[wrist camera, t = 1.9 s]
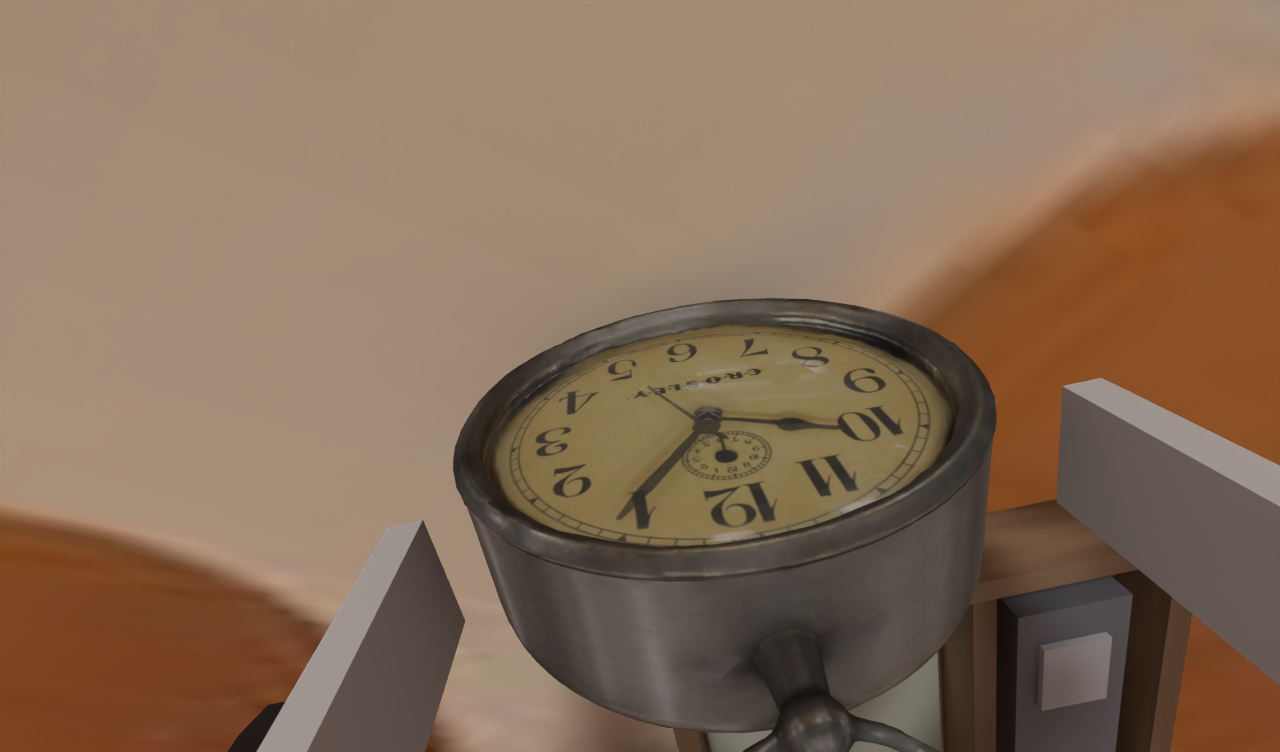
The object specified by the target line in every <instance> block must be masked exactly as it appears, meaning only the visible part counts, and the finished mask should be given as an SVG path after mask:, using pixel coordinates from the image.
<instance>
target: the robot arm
mask: <svg viewBox="0 0 1280 752" xmlns="http://www.w3.org/2000/svg"><path fill="white" fill-rule="evenodd" d="M1057 503H1058V504H1060V505H1061V506H1062V507H1063V508H1064V509H1066V510H1067V511H1068V512H1069V513H1071V514H1072V515H1073V516H1074V517H1075V518H1077V519H1078V520H1079V521H1080V522H1081V523H1083V524H1084V525H1085V526H1086V527H1088V528H1089V529H1090V530H1091V531H1092V532H1094V533H1095V534H1096V535H1097V536H1098V537H1100V538H1101V539H1102V540H1103V541H1105V542H1106V543H1107V544H1108V545H1109V546H1111V547H1112V548H1113V549H1114V550H1115V551H1117V552H1118V553H1119V554H1120V555H1122V556H1123V557H1124V558H1125V559H1126V560H1128V561H1129V562H1130V563H1131V564H1132V565H1134V566H1135V567H1136V568H1137V569H1139V570H1140V571H1141V572H1142V573H1143V574H1145V575H1146V576H1147V577H1148V578H1150V579H1151V580H1152V581H1153V582H1154V583H1156V584H1157V585H1158V586H1159V587H1160V588H1162V589H1163V590H1164V591H1165V592H1167V593H1168V594H1169V595H1170V596H1171V597H1173V598H1174V599H1175V600H1176V601H1177V602H1179V603H1180V604H1181V605H1182V606H1184V607H1185V608H1186V609H1187V610H1188V611H1190V612H1191V613H1192V614H1193V615H1194V616H1196V617H1197V618H1198V619H1199V620H1201V621H1202V622H1203V623H1204V624H1205V625H1207V626H1208V627H1209V628H1210V629H1211V630H1213V631H1214V632H1215V633H1216V634H1218V635H1219V636H1220V637H1221V638H1222V639H1224V640H1225V641H1226V642H1227V643H1229V644H1230V645H1231V646H1232V647H1233V648H1235V649H1236V650H1237V651H1238V652H1239V653H1241V654H1242V655H1243V656H1244V657H1246V658H1247V659H1248V660H1249V661H1250V662H1252V663H1253V664H1254V665H1255V666H1256V667H1258V668H1259V669H1260V670H1261V671H1263V672H1264V673H1265V674H1266V675H1267V676H1269V677H1270V678H1271V679H1272V680H1273V681H1275V682H1276V683H1277V684H1278V685H1280V466H1279V465H1277V464H1275V463H1273V462H1271V461H1269V460H1267V459H1265V458H1263V457H1261V456H1259V455H1257V454H1255V453H1253V452H1251V451H1249V450H1247V449H1245V448H1243V447H1241V446H1239V445H1237V444H1235V443H1233V442H1230V441H1228V440H1226V439H1224V438H1222V437H1220V436H1218V435H1216V434H1214V433H1212V432H1210V431H1208V430H1206V429H1204V428H1202V427H1200V426H1198V425H1196V424H1194V423H1192V422H1190V421H1188V420H1186V419H1184V418H1182V417H1180V416H1178V415H1176V414H1174V413H1172V412H1170V411H1168V410H1166V409H1164V408H1161V407H1159V406H1157V405H1155V404H1153V403H1151V402H1149V401H1147V400H1145V399H1143V398H1141V397H1139V396H1137V395H1135V394H1133V393H1131V392H1129V391H1127V390H1125V389H1123V388H1121V387H1119V386H1117V385H1115V384H1113V383H1111V382H1109V381H1107V380H1105V379H1103V378H1100V379H1095V380H1090V381H1085V382H1080V383H1076V384H1071V385H1066V386H1063V388H1062V408H1061V427H1060V446H1059V465H1058V485H1057ZM464 623H465V619H464V617H463V614H462V612H461V610H460V607H459V605H458V602H457V600H456V598H455V595H454V593H453V591H452V588H451V586H450V583H449V581H448V579H447V576H446V574H445V571H444V569H443V567H442V564H441V562H440V559H439V557H438V555H437V552H436V550H435V548H434V545H433V543H432V540H431V538H430V536H429V533H428V531H427V528H426V526H425V524H424V521H423V520H419V521H414V522H409V523H405V524H400V525H395V526H390V527H387V528H386V530H385V532H384V533H383V535H382V537H381V539H380V540H379V542H378V544H377V546H376V547H375V549H374V551H373V552H372V554H371V556H370V558H369V559H368V561H367V563H366V564H365V566H364V568H363V570H362V571H361V573H360V575H359V576H358V578H357V580H356V582H355V583H354V585H353V587H352V589H351V590H350V592H349V594H348V595H347V597H346V599H345V601H344V602H343V604H342V606H341V607H340V609H339V611H338V613H337V614H336V616H335V618H334V619H333V621H332V623H331V625H330V626H329V628H328V630H327V632H326V633H325V635H324V637H323V638H322V640H321V642H320V644H319V645H318V647H317V649H316V650H315V652H314V654H313V656H312V657H311V659H310V661H309V662H308V664H307V666H306V668H305V669H304V671H303V673H302V675H301V676H300V678H299V680H298V681H297V683H296V685H295V687H294V688H293V690H292V692H291V693H290V695H289V697H288V699H287V700H286V702H281V703H276V704H270V705H267V706H266V708H265V709H264V710H263V711H262V712H261V713H260V714H259V715H258V716H257V717H256V718H255V719H254V720H253V721H252V722H251V723H250V724H249V725H248V726H247V727H246V728H245V729H244V730H243V731H242V732H241V734H240V735H239V736H238V737H237V738H236V740H235V741H234V743H233V744H232V746H231V748H230V749H229V751H228V752H425V750H426V747H427V744H428V740H429V737H430V734H431V731H432V727H433V724H434V721H435V718H436V714H437V711H438V708H439V705H440V701H441V698H442V695H443V692H444V688H445V685H446V682H447V679H448V675H449V672H450V669H451V665H452V662H453V659H454V656H455V652H456V649H457V646H458V643H459V639H460V636H461V633H462V630H463V626H464Z"/></svg>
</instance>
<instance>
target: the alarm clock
mask: <svg viewBox="0 0 1280 752" xmlns="http://www.w3.org/2000/svg"><path fill="white" fill-rule="evenodd" d="M995 428H996V407H995V397H994V395H993V392H992V390H991V388H990V385H989V382H988V380H987V379H986V377H985V375H984V374H983V373H982V371H981V370H980V369H979V367H978V366H977V365H976V364H975V363H974V361H973V360H972V359H971V358H970V357H969V356H967V355H966V354H965V353H964V352H963V351H962V350H961V349H960V348H959V347H958V346H956V345H955V344H954V343H952V342H950V341H948V340H947V339H945V338H944V337H942V336H941V335H939V334H938V333H936V332H934V331H932V330H930V329H928V328H926V327H923V326H921V325H919V324H916V323H914V322H911V321H909V320H906V319H903V318H901V317H898V316H895V315H891V314H889V313H885V312H881V311H876V310H872V309H868V308H864V307H860V306H855V305H848V304H842V303H835V302H827V301H819V300H810V299H774V298H766V299H737V300H723V301H713V302H705V303H698V304H692V305H686V306H679V307H675V308H670V309H665V310H660V311H655V312H651V313H647V314H642V315H637V316H634V317H630V318H627V319H623V320H620V321H617V322H614V323H611V324H608V325H605V326H602V327H599V328H596V329H594V330H591V331H588V332H585V333H582V334H580V335H578V336H576V337H574V338H572V339H569V340H567V341H565V342H563V343H561V344H559V345H557V346H555V347H552V348H550V349H548V350H546V351H544V352H542V353H540V354H538V355H536V356H535V357H533V358H531V359H530V360H528V361H527V362H525V363H523V364H522V365H520V366H518V367H517V368H515V369H514V370H512V371H511V372H510V373H508V374H507V375H506V376H505V377H503V378H502V379H501V380H500V381H499V382H498V383H497V384H496V385H495V386H494V387H492V388H491V389H490V390H489V391H488V392H487V393H486V394H485V396H484V397H483V398H482V399H481V400H480V401H479V402H478V404H477V405H476V407H475V408H474V410H473V411H472V413H471V414H470V416H469V417H468V419H467V421H466V423H465V424H464V426H463V428H462V430H461V432H460V435H459V438H458V441H457V443H456V446H455V452H454V460H453V471H454V477H455V482H456V487H457V489H458V491H459V493H460V495H461V497H462V499H463V501H464V504H465V505H466V506H467V508H468V511H469V513H470V516H471V519H472V522H473V524H474V527H475V530H476V533H477V536H478V538H479V541H480V544H481V547H482V550H483V553H484V556H485V559H486V562H487V564H488V567H489V570H490V573H491V576H492V579H493V581H494V584H495V587H496V590H497V593H498V596H499V599H500V601H501V604H502V606H503V609H504V611H505V614H506V616H507V618H508V621H509V623H510V624H511V626H512V628H513V630H514V631H515V633H516V635H517V636H518V638H519V640H520V641H521V643H522V644H523V646H524V647H525V649H526V650H527V651H528V652H529V653H530V654H531V656H532V657H533V658H534V659H535V660H536V662H537V663H539V664H540V665H541V666H542V667H543V668H544V669H545V670H546V671H547V672H548V673H549V674H550V675H552V676H553V677H554V678H555V679H556V680H558V681H559V682H560V683H562V684H563V685H565V686H566V687H568V688H569V689H571V690H572V691H574V692H575V693H577V694H579V695H581V696H582V697H584V698H586V699H588V700H590V701H591V702H593V703H595V704H597V705H599V706H601V707H604V708H606V709H609V710H611V711H614V712H616V713H619V714H621V715H624V716H627V717H630V718H632V719H635V720H638V721H642V722H646V723H650V724H654V725H658V726H662V727H667V728H674V729H680V730H687V731H696V732H704V733H750V732H759V731H768V730H773V731H772V732H771V733H770V734H769V735H768V736H767V737H766V738H764V739H762V740H760V741H758V742H757V743H755V744H753V745H752V746H750V747H748V748H747V749H745V750H744V751H743V752H849V751H850V750H851V748H852V746H853V744H854V743H855V742H858V741H863V742H869V743H875V744H879V745H882V746H886V747H890V748H892V749H894V750H897V751H899V752H941V751H939V750H937V749H935V748H933V747H931V746H929V745H927V744H925V743H923V742H921V741H919V740H917V739H916V738H914V737H912V736H909V735H907V734H906V733H904V732H903V731H902V730H899V729H897V728H895V727H892V726H888V725H886V724H884V723H880V722H875V721H871V720H867V719H864V718H860V717H857V716H854V715H852V714H851V713H849V712H848V711H849V710H851V709H854V708H856V707H858V706H860V705H862V704H864V703H866V702H868V701H870V700H872V699H874V698H876V697H878V696H880V695H882V694H883V693H885V692H887V691H889V690H890V689H892V688H894V687H895V686H897V685H898V684H900V683H901V682H903V681H904V680H906V679H907V678H909V677H910V676H911V675H912V674H914V673H915V672H916V671H918V670H919V669H920V668H921V667H922V666H923V665H925V664H926V663H927V662H928V661H929V660H930V659H931V658H932V657H933V656H934V655H935V654H936V653H937V652H938V651H939V650H940V648H941V647H942V646H943V645H944V644H945V643H946V641H947V640H948V639H949V638H950V637H951V635H952V634H953V632H954V631H955V629H956V628H957V627H958V625H959V624H960V622H961V620H962V619H963V617H964V615H965V613H966V611H967V609H968V607H969V605H970V603H971V600H972V598H973V595H974V593H975V590H976V587H977V584H978V580H979V577H980V570H981V564H982V556H983V547H984V537H985V524H986V511H987V498H988V486H989V473H990V462H991V452H992V443H993V435H994V432H995Z"/></svg>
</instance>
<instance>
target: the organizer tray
mask: <svg viewBox="0 0 1280 752" xmlns="http://www.w3.org/2000/svg"><path fill="white" fill-rule="evenodd" d="M1110 575H1111V576H1112V577H1113V578H1114V579H1115V580H1117V581H1118V582H1119V583H1120V584H1121V585H1122V586H1124V587H1125V588H1126V589H1127V590H1128V591H1129V592H1131V593H1132V594H1133V598H1132V607H1131V616H1130V625H1129V634H1128V643H1127V652H1126V661H1125V669H1124V678H1123V687H1122V696H1121V705H1120V714H1119V723H1118V732H1117V741H1116V750H1115V752H1170V747H1171V741H1172V735H1173V729H1174V722H1175V716H1176V710H1177V704H1178V697H1179V691H1180V685H1181V679H1182V673H1183V666H1184V660H1185V654H1186V648H1187V641H1188V635H1189V629H1190V623H1191V616H1192V613H1191V612H1190V611H1188V610H1187V609H1186V608H1185V607H1184V606H1182V605H1181V604H1180V603H1179V602H1177V601H1176V600H1175V599H1174V598H1173V597H1171V596H1170V595H1169V594H1168V593H1167V592H1165V591H1164V590H1163V589H1162V588H1160V587H1159V586H1158V585H1157V584H1156V583H1154V582H1153V581H1152V580H1151V579H1150V578H1148V577H1147V576H1146V575H1145V574H1143V573H1142V572H1141V571H1140V570H1139V569H1137V568H1136V567H1135V566H1134V565H1132V564H1131V563H1130V562H1129V561H1128V560H1126V559H1125V558H1124V557H1123V556H1122V555H1120V554H1119V553H1118V552H1117V551H1115V550H1114V549H1113V548H1112V547H1111V546H1109V545H1108V544H1107V543H1106V542H1105V541H1103V540H1102V539H1101V538H1100V537H1098V536H1097V535H1096V534H1095V533H1094V532H1092V531H1091V530H1090V529H1089V528H1088V527H1086V526H1085V525H1084V524H1083V523H1081V522H1080V521H1079V520H1078V519H1077V518H1075V517H1074V516H1073V515H1072V514H1071V513H1069V512H1068V511H1067V510H1066V509H1064V508H1063V507H1062V506H1061V505H1060V504H1058V503H1057V499H1056V500H1052V501H1047V502H1042V503H1037V504H1033V505H1028V506H1023V507H1018V508H1014V509H1009V510H1004V511H1000V512H995V513H990V514H986V524H985V537H984V547H983V556H982V564H981V570H980V577H979V580H978V584H977V587H976V590H975V593H974V595H973V598H972V600H971V603H970V605H969V607H968V609H967V611H966V613H965V615H964V617H963V619H962V620H961V622H960V624H959V625H958V627H957V628H956V629H955V631H954V632H953V634H952V635H951V637H950V638H949V639H948V640H947V641H946V643H945V644H944V645H943V646H942V647H941V648H940V650H939V651H938V652H937V653H936V654H935V655H934V656H933V657H932V658H931V659H930V660H929V661H928V662H927V663H926V664H925V665H923V666H922V667H921V668H920V669H919V670H918V671H916V672H915V673H914V674H912V675H911V676H910V677H909V678H907V679H906V680H904V681H903V682H901V683H900V684H898V685H897V686H895V687H894V688H892V689H890V690H889V691H887V692H885V693H883V694H882V695H880V696H878V697H876V698H874V699H872V700H870V701H868V702H866V703H864V704H862V705H860V706H858V707H856V708H854V709H851V710H849V711H848V712H849V713H851V714H852V715H854V716H857V717H860V718H864V719H867V720H871V721H875V722H880V723H884V724H886V725H888V726H892V727H895V728H897V729H899V730H902V731H903V732H904V733H906V734H907V735H909V736H912V737H914V738H916V739H917V740H919V741H921V742H923V743H925V744H927V745H929V746H931V747H933V748H935V749H937V750H939V751H941V752H996V660H997V599H999V598H1004V597H1009V596H1013V595H1018V594H1023V593H1028V592H1033V591H1038V590H1042V589H1047V588H1052V587H1057V586H1062V585H1066V584H1071V583H1076V582H1081V581H1086V580H1091V579H1095V578H1100V577H1105V576H1110ZM673 730H674V734H675V737H676V741H677V745H678V748H679V752H743V751H744V750H745V749H747V748H748V747H750V746H752V745H753V744H755V743H757V742H758V741H760V740H762V739H764V738H766V737H767V736H768V735H769V734H770V733H771V732H772V731H773V730H768V731H759V732H750V733H704V732H696V731H687V730H680V729H674V728H673ZM849 752H899V751H897V750H894V749H892V748H890V747H886V746H882V745H879V744H875V743H869V742H863V741H858V742H855V743H854V744H853V746H852V748H851V750H850V751H849Z"/></svg>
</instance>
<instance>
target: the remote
mask: <svg viewBox="0 0 1280 752" xmlns="http://www.w3.org/2000/svg"><path fill="white" fill-rule="evenodd" d="M1132 598H1133V594H1132V593H1131V592H1129V591H1128V590H1127V589H1126V588H1125V587H1124V586H1122V585H1121V584H1120V583H1119V582H1118V581H1117V580H1115V579H1114V578H1113V577H1112V576H1111V575H1110V576H1105V577H1100V578H1095V579H1091V580H1086V581H1081V582H1076V583H1071V584H1066V585H1062V586H1057V587H1052V588H1047V589H1042V590H1038V591H1033V592H1028V593H1023V594H1018V595H1013V596H1009V597H1004V598H999V599H997V660H996V752H1115V750H1116V741H1117V732H1118V723H1119V714H1120V705H1121V696H1122V687H1123V678H1124V669H1125V661H1126V652H1127V643H1128V634H1129V625H1130V616H1131V607H1132Z"/></svg>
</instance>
